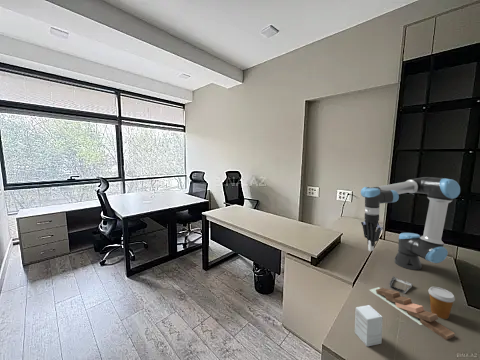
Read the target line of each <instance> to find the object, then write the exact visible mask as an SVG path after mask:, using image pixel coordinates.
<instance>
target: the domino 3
mask: <svg viewBox="0 0 480 360" xmlns="http://www.w3.org/2000/svg"><path fill="white" fill-rule="evenodd" d="M396 307H399V308H402V309H405V310H408V311H411V312H414V313H419V312H422V311H425V308H424V306H423V305H421V304H420V305H419V304H416V303H413V302H412V303H410V304H407V305H402V304H399V303H396Z"/></svg>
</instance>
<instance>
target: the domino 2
mask: <svg viewBox="0 0 480 360" xmlns="http://www.w3.org/2000/svg"><path fill="white" fill-rule="evenodd" d="M385 297H386V300H388V301H392V302H395V303H399V304H402V305H407V304H410V303H413V301H412V299H411V298H410V297H405V296H403V295H400V296H399V297H396V298H391V297H387V296H385Z"/></svg>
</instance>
